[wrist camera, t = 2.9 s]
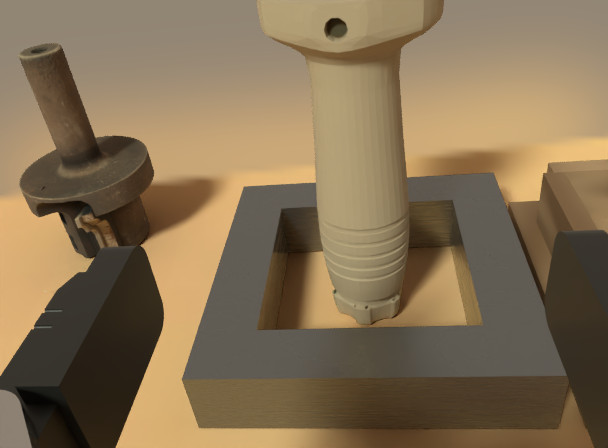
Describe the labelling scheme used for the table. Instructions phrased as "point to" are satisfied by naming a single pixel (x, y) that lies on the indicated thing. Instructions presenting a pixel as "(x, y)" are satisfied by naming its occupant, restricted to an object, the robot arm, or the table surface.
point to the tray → (561, 212)
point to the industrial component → (83, 164)
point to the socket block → (377, 341)
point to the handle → (357, 137)
